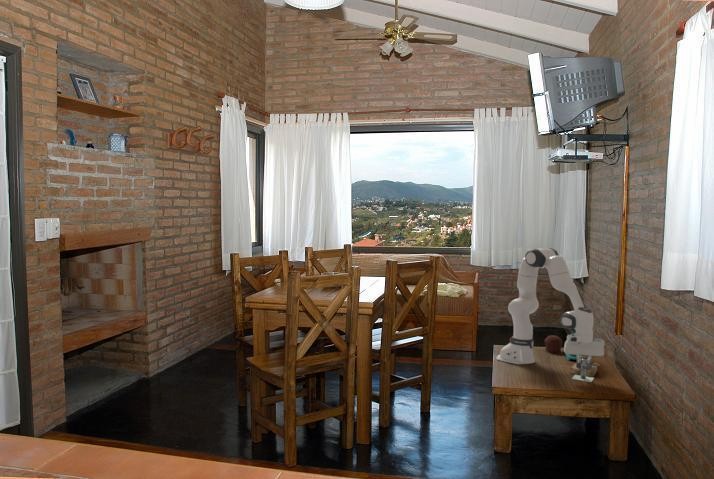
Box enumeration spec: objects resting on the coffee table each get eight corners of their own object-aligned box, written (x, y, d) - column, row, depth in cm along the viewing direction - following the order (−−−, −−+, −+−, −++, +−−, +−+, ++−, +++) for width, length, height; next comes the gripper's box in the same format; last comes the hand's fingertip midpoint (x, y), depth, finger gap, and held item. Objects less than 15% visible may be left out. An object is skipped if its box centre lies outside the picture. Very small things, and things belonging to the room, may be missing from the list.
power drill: (586, 366, 332) (587, 324, 330) (570, 365, 333) (571, 323, 332) (578, 354, 357) (579, 315, 355) (563, 353, 359) (564, 314, 357)
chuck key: (579, 375, 312) (579, 357, 311) (584, 376, 311) (584, 357, 310) (581, 380, 304) (582, 360, 303) (587, 380, 304) (587, 361, 303)
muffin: (563, 354, 359) (563, 338, 358) (545, 352, 361) (545, 337, 360) (561, 349, 370) (561, 334, 369) (543, 348, 373) (543, 333, 372)
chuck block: (570, 373, 318) (570, 359, 317) (575, 367, 328) (575, 354, 327) (597, 377, 310) (597, 363, 310) (600, 371, 320) (601, 358, 320)
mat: (571, 379, 307) (571, 378, 307) (574, 375, 314) (574, 374, 314) (591, 382, 302) (591, 381, 302) (594, 378, 308) (594, 377, 308)
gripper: (603, 337, 307) (602, 362, 308) (563, 335, 311) (563, 360, 312) (605, 340, 301) (605, 365, 302) (565, 338, 305) (564, 363, 306)
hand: (583, 362), depth 307 cm, fingers closed on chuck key, 3 cm apart
